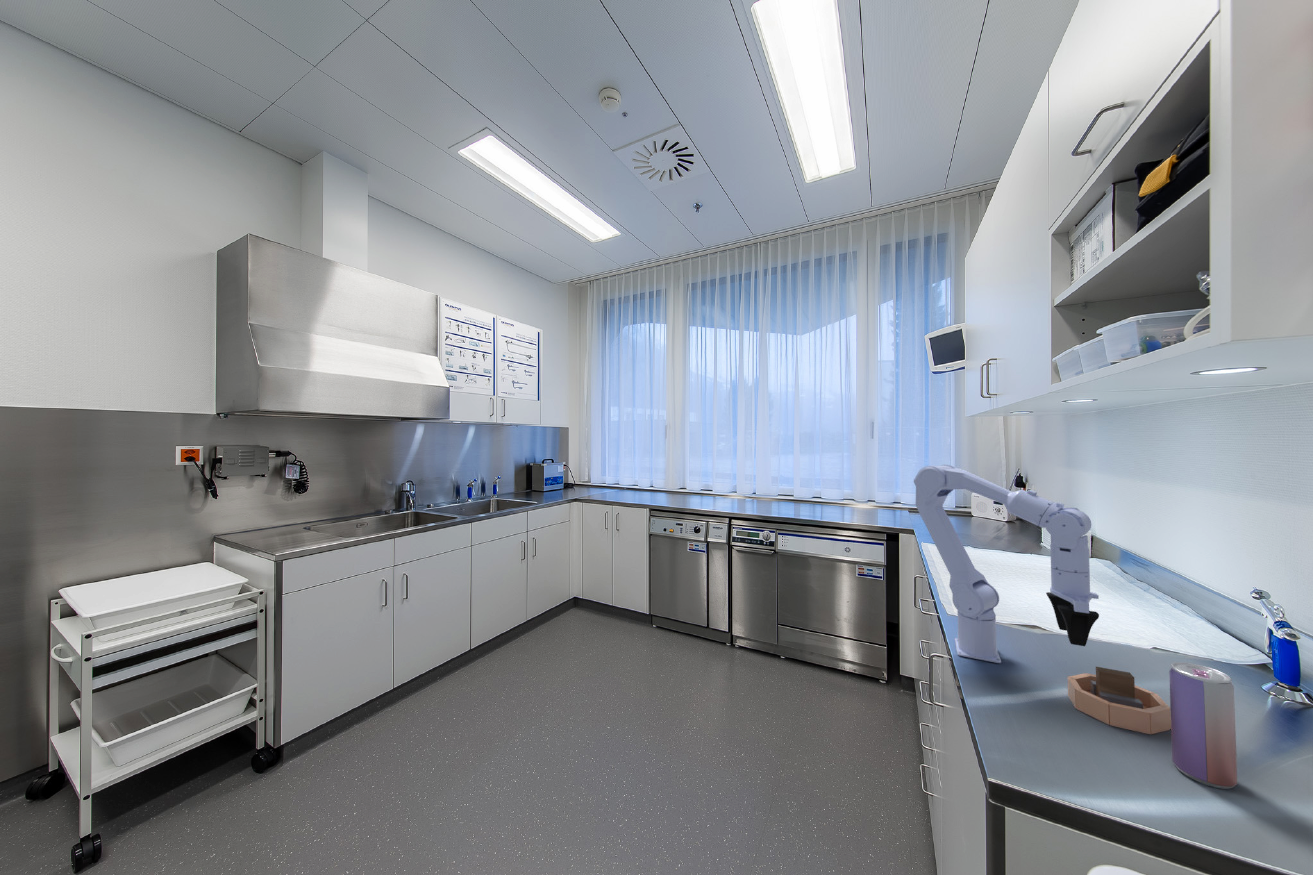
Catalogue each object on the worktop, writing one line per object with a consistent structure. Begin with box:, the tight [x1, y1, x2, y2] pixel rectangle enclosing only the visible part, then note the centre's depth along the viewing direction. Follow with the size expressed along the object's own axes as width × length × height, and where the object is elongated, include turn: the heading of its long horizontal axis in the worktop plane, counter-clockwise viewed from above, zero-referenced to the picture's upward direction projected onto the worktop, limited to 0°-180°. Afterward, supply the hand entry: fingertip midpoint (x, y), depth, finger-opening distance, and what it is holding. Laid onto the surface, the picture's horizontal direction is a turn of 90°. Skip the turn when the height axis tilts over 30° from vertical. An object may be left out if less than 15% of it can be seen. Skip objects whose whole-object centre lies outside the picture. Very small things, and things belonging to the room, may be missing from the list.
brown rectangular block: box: [1095, 666, 1136, 699], centre depth 80 cm, size 2×4×6 cm, turn 59°
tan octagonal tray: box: [1066, 672, 1171, 735], centre depth 80 cm, size 12×12×4 cm
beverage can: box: [1168, 661, 1238, 790], centre depth 65 cm, size 6×6×15 cm
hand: (1071, 637), depth 89 cm, fingers open, 7 cm apart
